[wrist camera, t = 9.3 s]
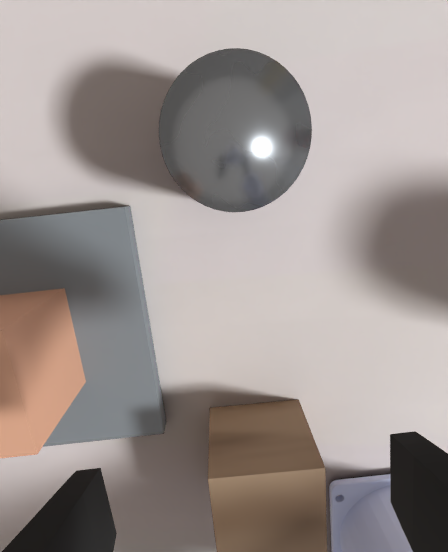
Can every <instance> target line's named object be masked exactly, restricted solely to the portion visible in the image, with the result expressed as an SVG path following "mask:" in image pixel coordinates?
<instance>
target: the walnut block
mask: <svg viewBox="0 0 448 552" xmlns="http://www.w3.org/2000/svg"><path fill="white" fill-rule="evenodd" d="M208 484H209V492H210V500H211V508H212V516H213V524H214V532H215V541H216V549H217V552H327V524H326V479H325V466H324V464H323V461H322V458H321V456H320V453H319V451H318V448H317V446H316V443H315V441H314V438H313V435H312V433H311V430H310V428H309V425H308V423H307V420H306V418H305V415H304V413H303V410H302V407H301V405H300V402H299V400H287V401H277V402H266V403H256V404H245V405H234V406H224V407H213V408H210V420H209V457H208Z"/></svg>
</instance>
